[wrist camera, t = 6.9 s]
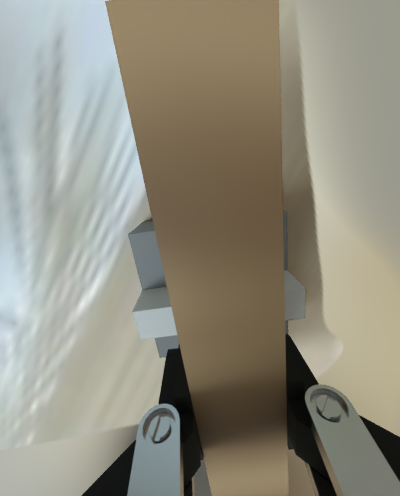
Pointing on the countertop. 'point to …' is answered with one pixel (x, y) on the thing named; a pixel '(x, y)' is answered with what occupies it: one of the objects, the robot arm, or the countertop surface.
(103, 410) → the countertop surface
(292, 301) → the ridge stand
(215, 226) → the batten
